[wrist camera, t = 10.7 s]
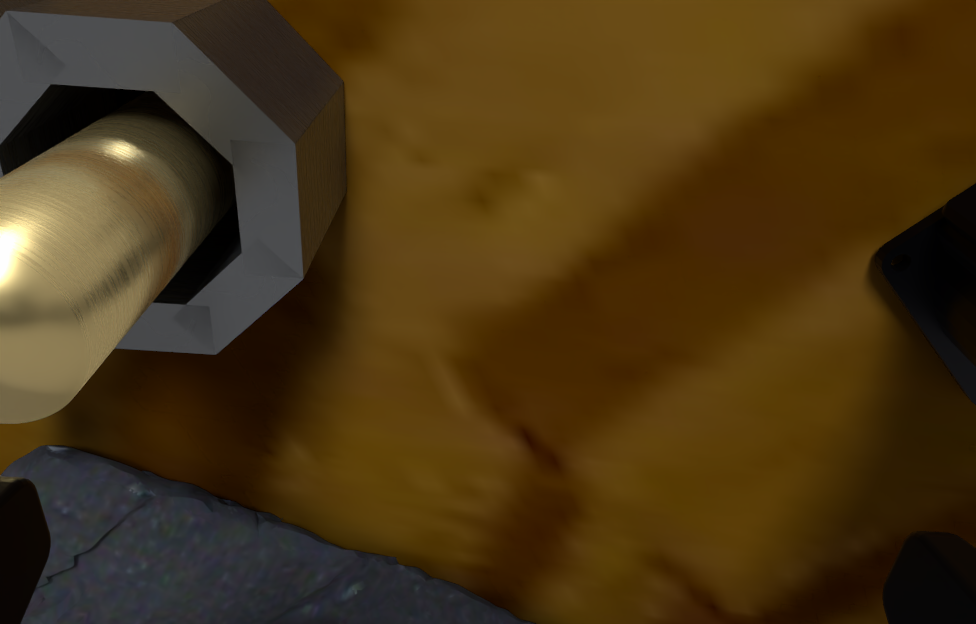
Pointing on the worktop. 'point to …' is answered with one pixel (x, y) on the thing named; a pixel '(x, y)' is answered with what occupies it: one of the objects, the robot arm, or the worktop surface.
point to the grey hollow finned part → (213, 114)
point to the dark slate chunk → (208, 559)
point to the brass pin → (97, 245)
